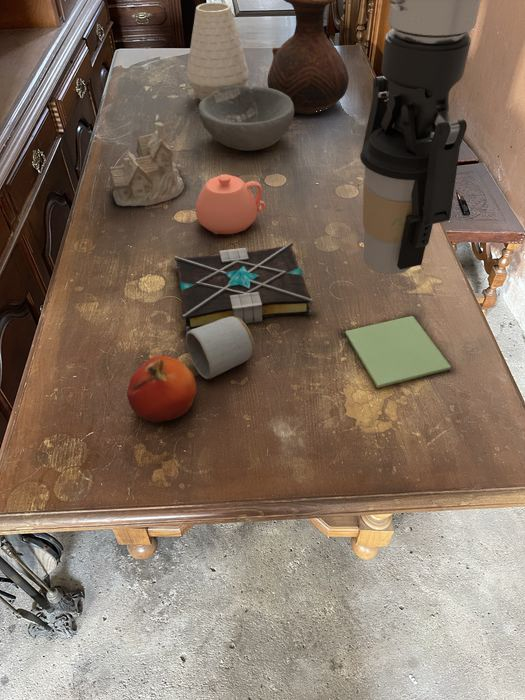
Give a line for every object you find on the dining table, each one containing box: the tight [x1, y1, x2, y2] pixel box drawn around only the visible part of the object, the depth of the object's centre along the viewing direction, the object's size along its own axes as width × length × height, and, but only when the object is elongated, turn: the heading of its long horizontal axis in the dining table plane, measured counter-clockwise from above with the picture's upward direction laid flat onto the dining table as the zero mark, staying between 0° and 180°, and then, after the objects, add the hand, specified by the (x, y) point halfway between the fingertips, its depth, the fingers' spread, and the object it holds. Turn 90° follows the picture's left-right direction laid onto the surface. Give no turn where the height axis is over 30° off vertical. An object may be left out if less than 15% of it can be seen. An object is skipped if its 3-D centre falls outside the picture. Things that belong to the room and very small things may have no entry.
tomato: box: [126, 355, 198, 423], centre depth 74 cm, size 9×9×8 cm
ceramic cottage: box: [109, 121, 185, 207], centre depth 115 cm, size 16×16×15 cm
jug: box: [266, 0, 350, 115], centre depth 140 cm, size 22×22×30 cm
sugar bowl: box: [195, 173, 266, 235], centre depth 106 cm, size 12×14×10 cm
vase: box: [185, 2, 250, 101], centre depth 146 cm, size 17×17×23 cm
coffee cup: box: [359, 127, 431, 276], centre depth 61 cm, size 9×9×15 cm
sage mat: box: [344, 315, 452, 389], centre depth 84 cm, size 12×12×1 cm
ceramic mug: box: [185, 316, 255, 380], centre depth 81 cm, size 11×8×8 cm
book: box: [174, 241, 314, 333], centre depth 93 cm, size 22×17×5 cm
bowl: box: [197, 85, 295, 151], centre depth 132 cm, size 23×22×10 cm
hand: (391, 244), depth 64 cm, fingers closed on coffee cup, 8 cm apart
